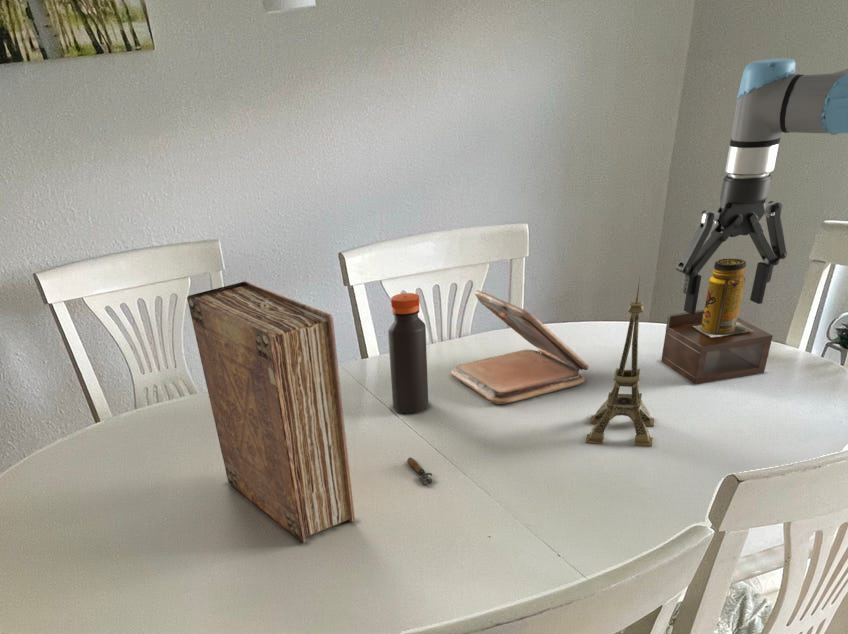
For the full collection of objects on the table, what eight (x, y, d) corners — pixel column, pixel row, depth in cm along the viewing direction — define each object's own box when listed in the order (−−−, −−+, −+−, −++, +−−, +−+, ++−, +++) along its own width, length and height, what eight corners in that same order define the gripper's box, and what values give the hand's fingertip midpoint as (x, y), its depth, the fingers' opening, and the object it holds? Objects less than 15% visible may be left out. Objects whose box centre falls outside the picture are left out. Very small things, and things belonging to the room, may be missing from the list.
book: (356, 523, 116) (333, 315, 98) (303, 545, 113) (269, 334, 94) (276, 465, 134) (243, 280, 115) (227, 483, 130) (186, 294, 111)
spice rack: (764, 373, 147) (775, 324, 141) (694, 384, 145) (703, 335, 140) (726, 351, 157) (735, 304, 151) (660, 361, 155) (668, 315, 150)
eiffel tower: (653, 419, 135) (677, 264, 119) (651, 446, 127) (676, 284, 112) (591, 417, 138) (606, 265, 122) (585, 442, 130) (600, 284, 115)
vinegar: (418, 397, 152) (413, 288, 139) (434, 408, 147) (431, 297, 134) (387, 405, 150) (379, 296, 137) (402, 417, 145) (395, 305, 132)
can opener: (407, 463, 130) (406, 457, 129) (420, 461, 131) (420, 454, 130) (423, 487, 123) (423, 481, 123) (437, 485, 124) (437, 478, 123)
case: (592, 384, 149) (601, 296, 139) (497, 408, 144) (499, 319, 134) (535, 353, 165) (539, 272, 154) (446, 375, 159) (445, 292, 149)
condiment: (691, 327, 149) (703, 259, 142) (733, 321, 150) (747, 253, 142) (710, 338, 143) (724, 269, 136) (754, 332, 144) (769, 262, 137)
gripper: (802, 161, 135) (772, 292, 148) (668, 180, 132) (650, 310, 146) (830, 167, 129) (796, 302, 142) (690, 187, 126) (670, 322, 140)
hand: (722, 307), depth 144 cm, fingers open, 12 cm apart
